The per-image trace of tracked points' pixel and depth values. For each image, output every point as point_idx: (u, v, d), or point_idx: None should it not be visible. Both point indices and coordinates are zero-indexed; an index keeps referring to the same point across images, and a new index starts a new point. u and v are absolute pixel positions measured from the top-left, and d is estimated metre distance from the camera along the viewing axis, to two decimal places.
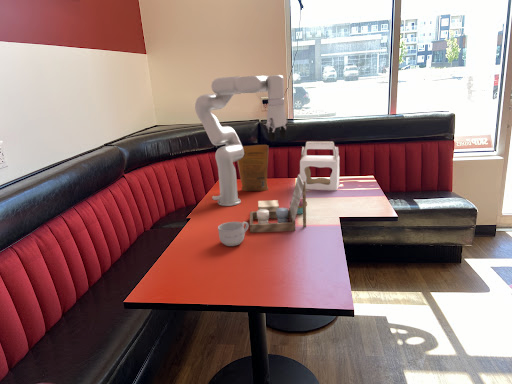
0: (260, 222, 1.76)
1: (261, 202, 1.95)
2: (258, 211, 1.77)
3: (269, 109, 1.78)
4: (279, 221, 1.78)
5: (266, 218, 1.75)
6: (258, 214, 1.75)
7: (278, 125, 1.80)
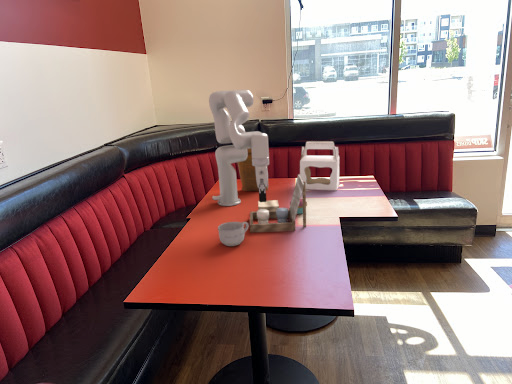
0: (260, 222, 1.76)
1: (261, 202, 1.95)
2: (258, 211, 1.77)
3: None
4: (279, 221, 1.78)
5: (266, 218, 1.75)
6: (258, 214, 1.75)
7: None
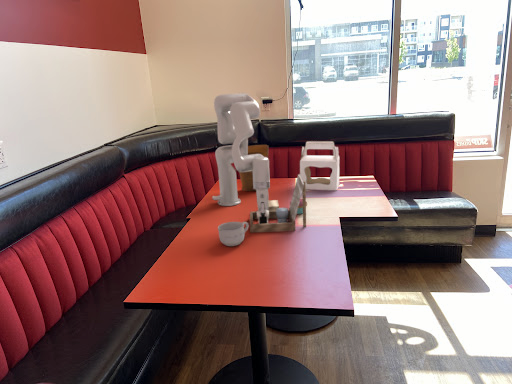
0: None
1: None
2: (258, 211, 1.77)
3: None
4: (279, 221, 1.78)
5: None
6: (258, 214, 1.75)
7: None
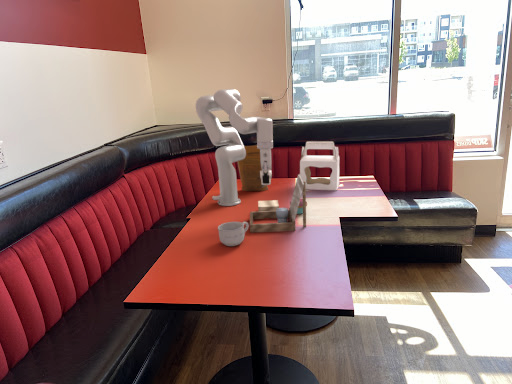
0: None
1: (261, 202, 1.95)
2: (261, 170, 1.86)
3: None
4: (279, 221, 1.78)
5: (269, 177, 1.85)
6: (261, 173, 1.85)
7: None
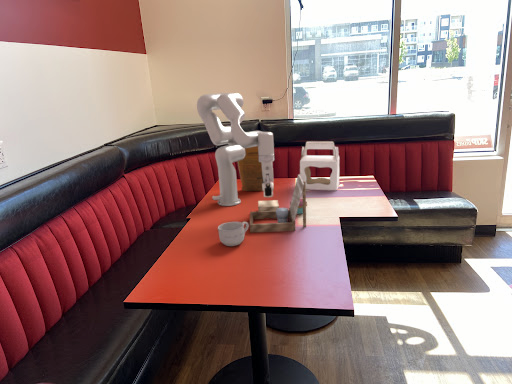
0: None
1: (261, 202, 1.95)
2: (263, 183, 1.90)
3: None
4: (279, 221, 1.78)
5: (271, 189, 1.88)
6: (263, 186, 1.88)
7: None
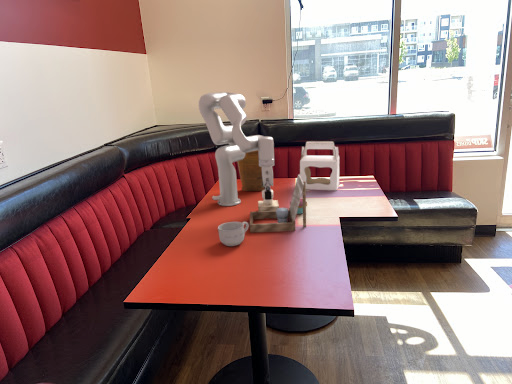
0: (265, 200, 1.91)
1: (261, 202, 1.95)
2: (263, 190, 1.91)
3: None
4: (279, 221, 1.78)
5: None
6: (263, 193, 1.89)
7: None
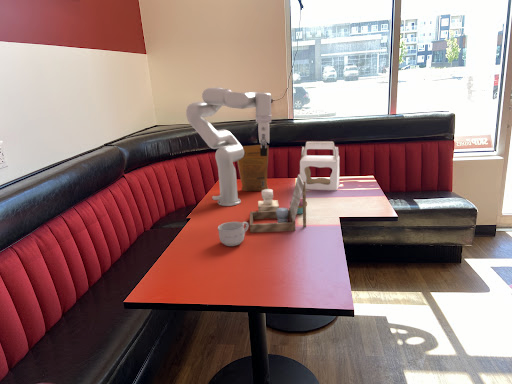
0: (265, 201, 1.91)
1: (261, 202, 1.95)
2: (263, 190, 1.91)
3: None
4: (279, 221, 1.78)
5: (270, 197, 1.89)
6: (263, 193, 1.89)
7: None
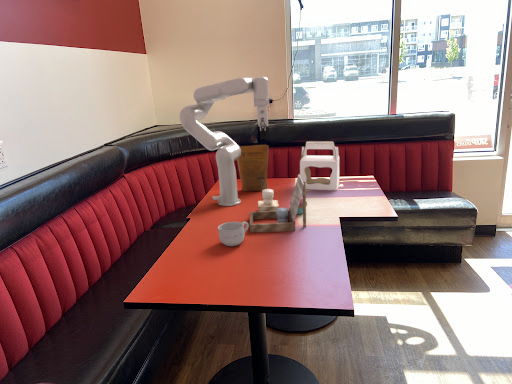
0: (265, 200, 1.91)
1: (261, 202, 1.95)
2: (263, 190, 1.91)
3: None
4: (279, 221, 1.78)
5: (270, 197, 1.89)
6: (263, 193, 1.89)
7: None
